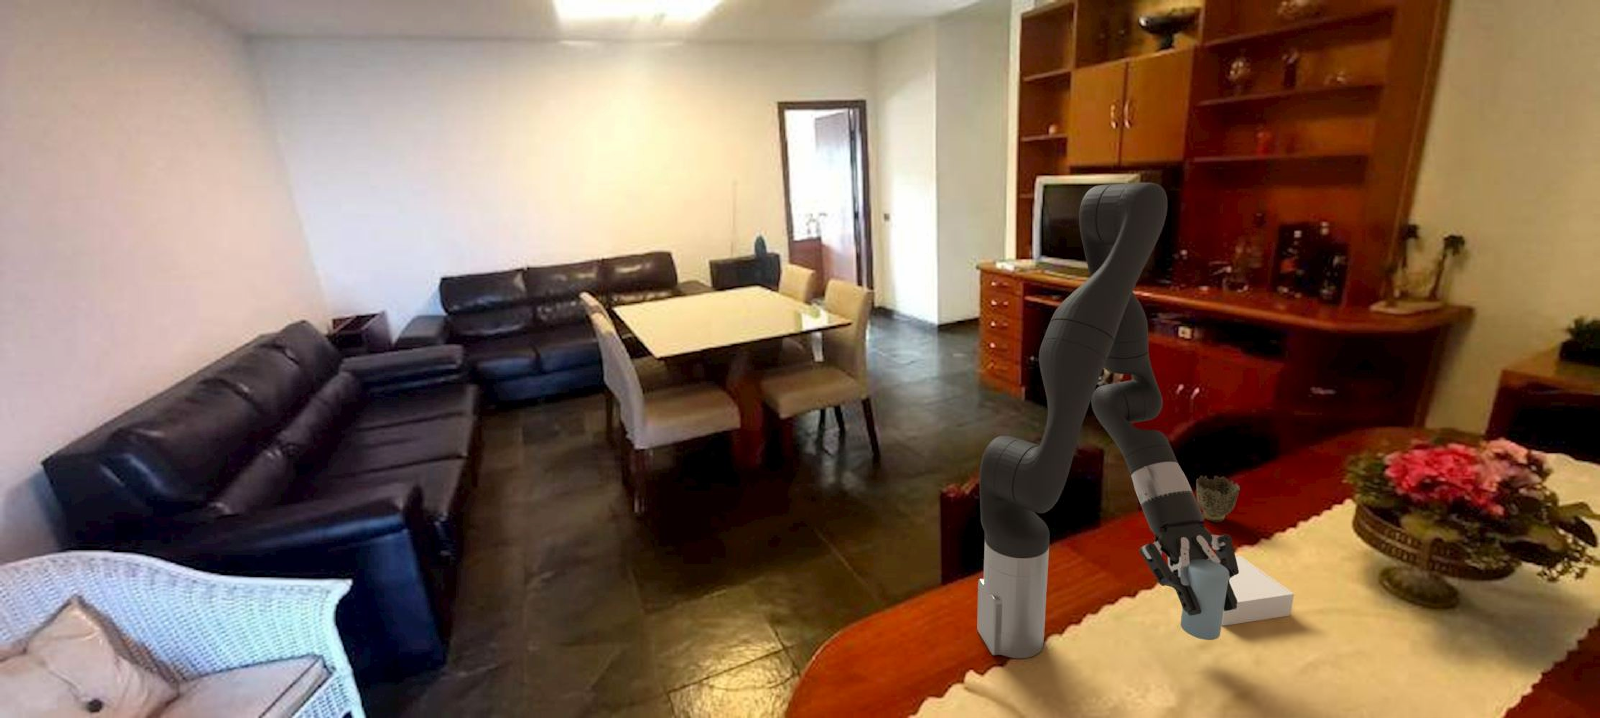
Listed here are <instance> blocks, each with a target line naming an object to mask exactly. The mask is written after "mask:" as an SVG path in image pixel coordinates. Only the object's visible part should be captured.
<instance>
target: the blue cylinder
mask: <svg viewBox="0 0 1600 718" xmlns="http://www.w3.org/2000/svg"><path fill="white" fill-rule="evenodd" d="M1188 577H1189V585H1188V586H1191V587H1192V589H1193V591H1194V593H1195V596H1196V598H1197V601H1198V603H1199V606H1200V608H1201V614H1197V615H1192V616H1190V615H1189V614H1188V613H1187V612H1185V610H1184V609H1183V608H1182V610H1181V616H1180V617H1181V619H1180V627H1181V629H1182V630H1183V631H1184V632H1185V633H1187V634H1188V635H1190V636H1192V637H1194V638H1196V639H1200V640H1205V641H1214V640H1218V638H1220V636H1221V631H1222V618H1223V611H1224V605H1225V598H1226V591H1227V585H1228V578H1229V571H1228V570H1227V568H1225V567H1224V566H1223V565H1221V564H1219V563H1217V562H1214V561H1211V560H1208V559H1207V560H1206V559H1194V560H1191V561H1190V564H1188Z"/></svg>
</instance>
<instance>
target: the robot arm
mask: <svg viewBox="0 0 1600 718" xmlns="http://www.w3.org/2000/svg"><path fill="white" fill-rule="evenodd" d="M1167 213H1168V196H1167V193H1166V191H1165V189H1164V188H1163V187H1162V186H1161V185H1160V184H1158V183H1154V182H1129V183H1110V184H1101V185H1095V186H1093V187H1091V188H1089V190H1088V191H1087V192H1086V193H1085V195H1084V196H1083V198H1082V200H1081V202H1080V207H1079V212H1078V216H1079V218H1078V221H1079V223H1078V225H1079V231H1080V237H1081V243H1082V246H1083V251H1084V255H1085V260H1086V264H1087V265H1086V266H1087V269H1088V273H1089V278H1088V279H1086V280H1085V281H1084V282H1083V283H1082V284H1081V285H1080V286H1079V287H1077V288H1076V289H1075V290H1074V291H1073V292H1072V293H1071V294H1070V295H1068V297H1066V298H1065V299H1064V300H1063V301H1062V302H1061V304H1060V305H1059V306H1057V308H1056V309H1055V311H1054V312H1053V314H1052V317H1051V319H1050V322H1049V324H1048V327H1047V329H1046V331H1045V333H1044V337H1043V339H1042V342H1041V344H1040V348H1039V351H1038V364H1039V370H1040V374H1041V380H1042V383H1043V387H1044V391H1045V395H1046V400H1047V401H1046V403H1047V420H1046V425H1045V427H1044V431H1043V434H1042V439H1041V441H1040V443H1039V444H1037V443H1034V442H1033V443H1032V442H1030V441H1027V440H1023V439H1020V438H1017V437H1014V436H1009V435H998V436H997V437H995V438H994V439H992V440H991V441H990V442H989V443H988V445H987V446H986V447H985V450H984V452H983V455H982V456H981V457H982V458H981V462H980V467H979V476H978V477H979V478H978V479H979V481H978V482H979V483H978V484H979V504H980V506H979V509H980V523H981V526H982V528H983V532H984V551H983V552H984V553H983V554H984V555H983V557H984V558H983V578H979V579H978V581H977V583H978V584H977V622H976V623H977V625H976V626H977V627H976V628H977V630H976V631H977V632H978V633H979V635H980V637H981V639H982V640H983V642H984V643H985V645H986V647H987V648H988V650H989V652H990V653H991V655H992V656H997V655H999V656H1000V655H1001V656H1003V657H1008V658H1012V659H1027V658H1031V657H1032V658H1033V657H1034V656H1036V655H1038V654H1039V653H1040V652H1041V651H1042V649H1043V647H1044V639H1045V623H1046V605H1047V604H1046V603H1047V590H1048V589H1047V588H1048V585H1047V584H1048V571H1049V570H1048V569H1049V553H1050V552H1049V551H1050V529H1049V526H1048V525H1047V524H1046V522H1045V521H1044V520H1043V519H1042V518H1041V517H1040V516H1039V515H1038V514H1044V513H1047V512H1048V511H1050V510H1051V509H1053V507H1054V506H1055V505H1056V503H1057V502H1058V501H1059V499H1060V497H1061V495H1062V492H1063V491H1064V488H1065V485H1066V483H1067V479H1068V476H1069V473H1070V470H1071V466H1072V463H1073V459H1074V455H1075V452H1076V448H1077V444H1078V441H1079V438H1080V434H1081V430H1082V426H1083V424H1084V419H1085V418H1086V414H1087V412H1088V409H1089V405H1090V404H1091V409H1092V411H1093V413H1094V415H1095V417H1096V419H1097V420H1098V422H1099V423H1100V425H1101V426H1102V427H1103V429H1105V431H1106V432H1107V433H1108V435H1109V436H1110V438H1111V439H1112V440H1113V442H1114V443H1115V445H1116V446H1117V448H1118V449H1119V451H1120V453H1121V454H1122V457H1123V458H1124V461H1125V464H1126V467H1127V469H1128V472H1129V474H1130V476H1131V480H1132V483H1133V487H1134V491H1135V493H1136V496H1137V498H1138V501H1139V503H1140V506H1141V509H1142V511H1143V514H1144V517H1145V519H1146V522H1147V524H1148V527H1149V529H1150V531H1151V532H1152V533H1153V534H1154V542H1149V543H1147V544H1145V545H1142V546H1141V547H1140V548H1139V553H1140V554H1141V556H1142V558H1143V559H1144V561H1145V562H1146V563H1145V564H1147V566H1148V567H1149V569H1150V570H1151V572H1152V574H1153V576H1154V578H1155V579H1156V580H1157V582H1158V584H1159V585H1160V586H1162V587H1165V586H1166V587H1167V586H1168V587H1170V588H1173V589H1174V590H1175V592H1176V595H1177V597H1178V599H1179V602H1180V604H1181V607H1182V609H1184V610H1185V612H1187V613H1188V614H1189V615H1190V616H1192V615H1197V614H1201V608H1200V606H1199V603H1198V601H1197V598H1196V596H1195V593H1194V591H1193V589H1192V587H1191V586H1188V585H1189V577H1188V564H1190V561H1191V560H1194V559H1206V560H1211V561H1214V562H1217V563H1219V564H1221V565H1223V566H1224V567H1225V568H1227V570H1228V571H1229V578H1228V585H1227V591H1226V598H1225V605H1224V611H1230V610H1234V609H1236V608H1237V605H1236V604H1237V599H1236V596H1235V594H1234V592H1233V590H1232V587H1231V585H1230V582H1229V580H1230V578H1231V577H1233V576H1234V575H1237V574H1238V573H1239V570H1238V565H1237V561H1236V552H1235V548H1234V545H1233V540H1232V537H1231V535H1230V534H1227V533H1224V534H1222V535H1217V534H1212V533H1211V532H1210V531H1209V530H1208V529H1207V528H1206V526H1205V523H1204V522H1205V521H1204V520H1205V517H1204V515H1203V512H1202V511H1201V510H1202V509H1201V508H1200V507H1199V505H1198V502H1197V498H1196V497H1195V495H1194V492H1193V489H1192V487H1191V485H1190V483H1189V481H1188V478H1187V476H1186V475H1185V473H1184V471H1183V470H1182V468H1181V466H1180V465H1179V463H1178V460H1177V457H1176V456H1175V453H1174V451H1173V449H1172V446H1171V444H1170V441H1169V439H1168V437H1167V436H1166V434H1164V432H1162V431H1160V430H1153V429H1141V428H1139V427H1135V426H1134V425H1133V424H1135V423H1139V422H1145V421H1151V420H1154V419H1155V418H1157V416H1159V414H1160V413H1161V411H1162V409H1163V403H1164V402H1163V396H1162V392H1161V391H1160V387H1159V385H1158V383H1157V381H1156V377H1155V373H1154V371H1153V367H1152V365H1151V364H1152V363H1151V360H1150V351H1149V350H1150V349H1149V326H1148V320H1147V315H1146V313H1145V310H1144V309H1143V306H1142V305H1141V302H1140V301H1139V299H1138V297H1137V296H1136V295H1135V293H1134V289H1135V287H1136V284H1137V282H1138V280H1139V278H1140V277H1141V274H1142V272H1143V269H1144V268H1145V266H1146V264H1147V262H1148V260H1149V258H1150V256H1151V254H1152V252H1153V250H1154V248H1155V247H1156V244H1157V242H1158V240H1159V238H1160V235H1161V233H1162V231H1163V229H1164V225H1165V221H1166V217H1167ZM1103 370H1106V371H1107V372H1110V373H1112V374H1119V375H1131V380H1130V379H1129V380H1125V381H1120V382H1114V383H1113V382H1112V383H1107V384H1103V385H1100V386H1098V387H1097V385H1098V383H1099V380H1100V377H1101V376H1102V373H1103ZM1211 546H1212V547H1211ZM1213 550H1215V552H1214V551H1213ZM1162 554H1164V555H1166V556H1167V561H1166V560H1165V559H1164V557H1163V556H1162Z"/></svg>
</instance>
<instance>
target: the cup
mask: <svg viewBox="0 0 1600 718" xmlns="http://www.w3.org/2000/svg"><path fill="white" fill-rule="evenodd" d="M1195 481H1196V501H1197V503H1198V506H1199V508H1200V510H1202V511H1203V512H1202V515H1203V517H1204V519H1206V520H1207V521H1210V522H1214V523H1220V522H1222V521H1224V520H1225V516H1226V515H1229V514H1230V513H1232V511H1233V510H1234V508H1235V506H1236V503H1237V499H1238V497H1239V493H1240V490H1241V487H1240V485H1239V483H1235V482H1234V480H1230V481H1229V479H1227V478H1226V477H1225V476H1222V477H1219V476H1217V475H1215V476H1214V477H1213V478H1208V476H1207V475H1200V476H1199V478H1198V477H1197V478H1196V480H1195ZM1234 483H1235V484H1234Z"/></svg>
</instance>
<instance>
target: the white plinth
mask: <svg viewBox="0 0 1600 718" xmlns="http://www.w3.org/2000/svg"><path fill="white" fill-rule="evenodd" d="M1235 557H1236V561H1237V565H1238V570H1239V573H1238V574H1237V575H1234V576H1233V577H1231V578H1230V580H1229V582H1230V585H1231V587H1232V590H1233V592H1234V594H1235V596H1236V599H1237V604H1236V605H1237V608H1236V609H1234V610H1230V611H1223V618H1222V625H1221V627H1224V626H1230V625H1236V624H1237V625H1238V624H1243V623H1250V622H1258V621H1263V620H1268V619H1276V618H1281V617H1283V618H1284V617H1289V616H1291V614H1292V609H1293V602H1294V596H1295V593H1294V592H1292V591H1291V590H1289V589H1288V588H1286V587H1285V586H1284V585H1282V584H1281V583H1279V582H1278V581H1276V580H1275V579H1274V578H1272V577H1271V576H1269V575H1268V574H1266V573H1265V572H1264V571H1262V570H1261V569H1260V568H1258V567H1257V566H1255V565H1253V563H1251V562H1249V561H1248V560H1247V559H1245V558H1244V557H1242V556H1241V555H1237V556H1236V555H1235Z"/></svg>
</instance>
